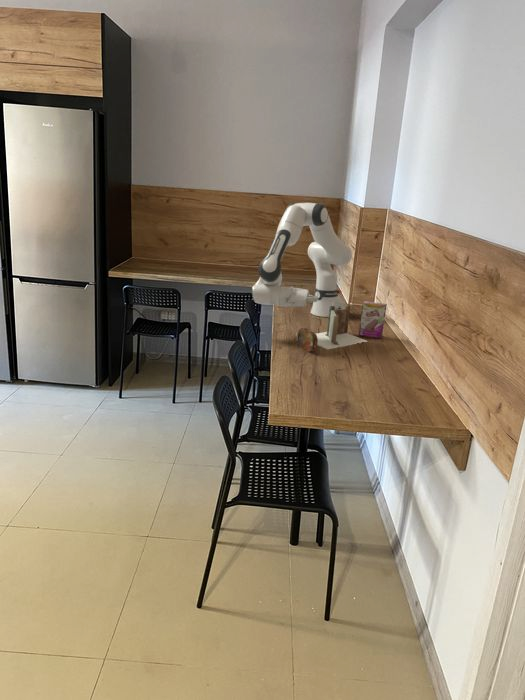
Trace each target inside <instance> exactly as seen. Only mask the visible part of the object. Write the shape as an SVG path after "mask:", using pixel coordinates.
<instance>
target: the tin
mask: <svg viewBox="0 0 525 700" xmlns="http://www.w3.org/2000/svg"><path fill="white" fill-rule="evenodd" d="M316 334H317V333H315V332H314V331H312V330H310V329H308V328H306V327H300V329H299V330H298V333H297V342H298V345H299V346H300V347H301V348H302V349H303V350H305V351H306V352H309V353H310V352H315V351H316V350H317V347H318V346H317V342H318V339H317V335H316Z"/></svg>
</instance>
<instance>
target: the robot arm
mask: <svg viewBox="0 0 525 700" xmlns="http://www.w3.org/2000/svg"><path fill="white" fill-rule="evenodd" d="M304 227H309V229H310V233H311V236H312V238H313V240H314V241H313V242H311V243H310V244H309V245H308V248H307V256H308V257H309V259H310V260H311V261H312V263H313V265H314V268H315V272H316V283H315V288H314V293H313V294H314V295H312V294H310V290H309V289H305V288H299V287H293V286H291V285H288V286H281V284H282V281H283V276H282V274H283V273H282V265H281V261H282V258H283V257H284V253H285V252H286V249H287V247H291V246H294V245H295V244H296V243H297V242H298V240H299V238H300V236H301V233H302V231H303V228H304ZM267 253H268V254H266V256H265V257H264V258H263V259H262V260H261V261H260V263H259V265H258V267H257V273H258V275H259V279H258V280H257V281H256V282H255V283H254V284H253V286H252V287H251V296H252V300H253V301H254V303H256V304H259V305H265V306H275V305H276V306H278V307H297V308H306V307H307V303H312V307H311V309H310V314H312V315H313V316H317V317H323V318H329V309H330V306H335V310H338V309H345V306H347V305H346V303H345V301H343V299H342V298H341V297H339V295H341V294H342V289H341V290H340V289H337V286H338V285H337V283H338V275H337V273H336V271H334V270H333V268H332V266H331V265H336V266H345V265H346V266H347V265H348V264H349V263H350V262H351V260H352V257H353V251H352V248H351V247H349V246H348V245H346V244H345V243H344V242H343V241H342V240H341V239H340V238H339V236H338V235H337V234H336V232H335V230H334V227H333V224H332V221H331V218H330V215H329V210H328V208H327V206H326V205H324V204H323V203H320V202H319V203H318V202H317V203H314V202H298V203H297V202H293V203H289V204H288V205H287V206H286V208H285V209H284V213H283V215H282V217H281V219H280V221H279V223H278V226H277V229H276V231H275V237H274V239H273V242H272V244H271V245H270V249H269V251H268V252H267Z"/></svg>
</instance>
